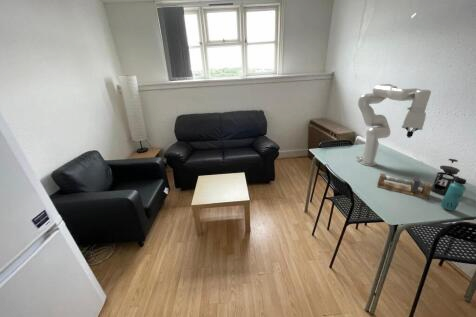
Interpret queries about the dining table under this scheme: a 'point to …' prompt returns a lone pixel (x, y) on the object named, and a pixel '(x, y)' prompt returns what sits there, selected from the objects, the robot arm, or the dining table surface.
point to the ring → (415, 184)
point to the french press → (444, 184)
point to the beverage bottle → (454, 194)
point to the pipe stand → (404, 189)
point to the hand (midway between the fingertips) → (408, 137)
